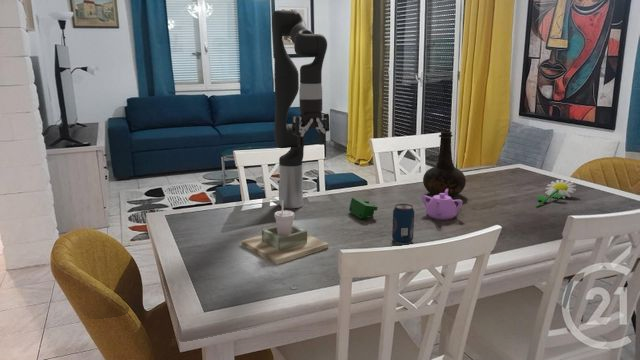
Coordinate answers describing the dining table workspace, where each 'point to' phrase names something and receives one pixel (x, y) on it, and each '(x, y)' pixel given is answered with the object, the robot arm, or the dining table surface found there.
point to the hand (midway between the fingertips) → (311, 146)
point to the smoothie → (284, 221)
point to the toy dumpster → (362, 208)
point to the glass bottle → (444, 171)
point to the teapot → (441, 206)
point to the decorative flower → (558, 190)
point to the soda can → (403, 223)
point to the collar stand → (284, 244)
